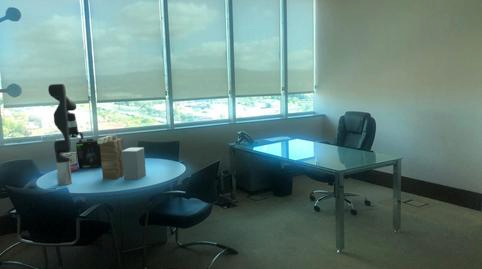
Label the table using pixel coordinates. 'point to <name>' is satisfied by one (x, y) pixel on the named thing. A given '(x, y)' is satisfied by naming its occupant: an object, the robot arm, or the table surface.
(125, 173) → the light grey box
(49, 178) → the table surface
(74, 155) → the candy bar box
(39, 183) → the table surface
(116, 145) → the tall stand
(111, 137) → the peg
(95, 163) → the headset box
